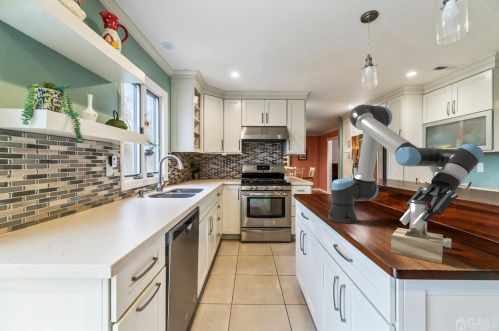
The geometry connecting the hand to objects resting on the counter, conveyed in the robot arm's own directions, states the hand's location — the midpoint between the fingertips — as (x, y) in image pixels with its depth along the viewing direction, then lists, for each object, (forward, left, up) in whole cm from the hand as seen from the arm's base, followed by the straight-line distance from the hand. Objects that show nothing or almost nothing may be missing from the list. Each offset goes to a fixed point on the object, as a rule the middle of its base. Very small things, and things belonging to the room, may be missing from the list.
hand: (409, 224), depth 82 cm
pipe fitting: (-18, +8, -11) cm, 22 cm away
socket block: (-3, +2, -10) cm, 11 cm away
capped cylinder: (-3, +2, -3) cm, 5 cm away
